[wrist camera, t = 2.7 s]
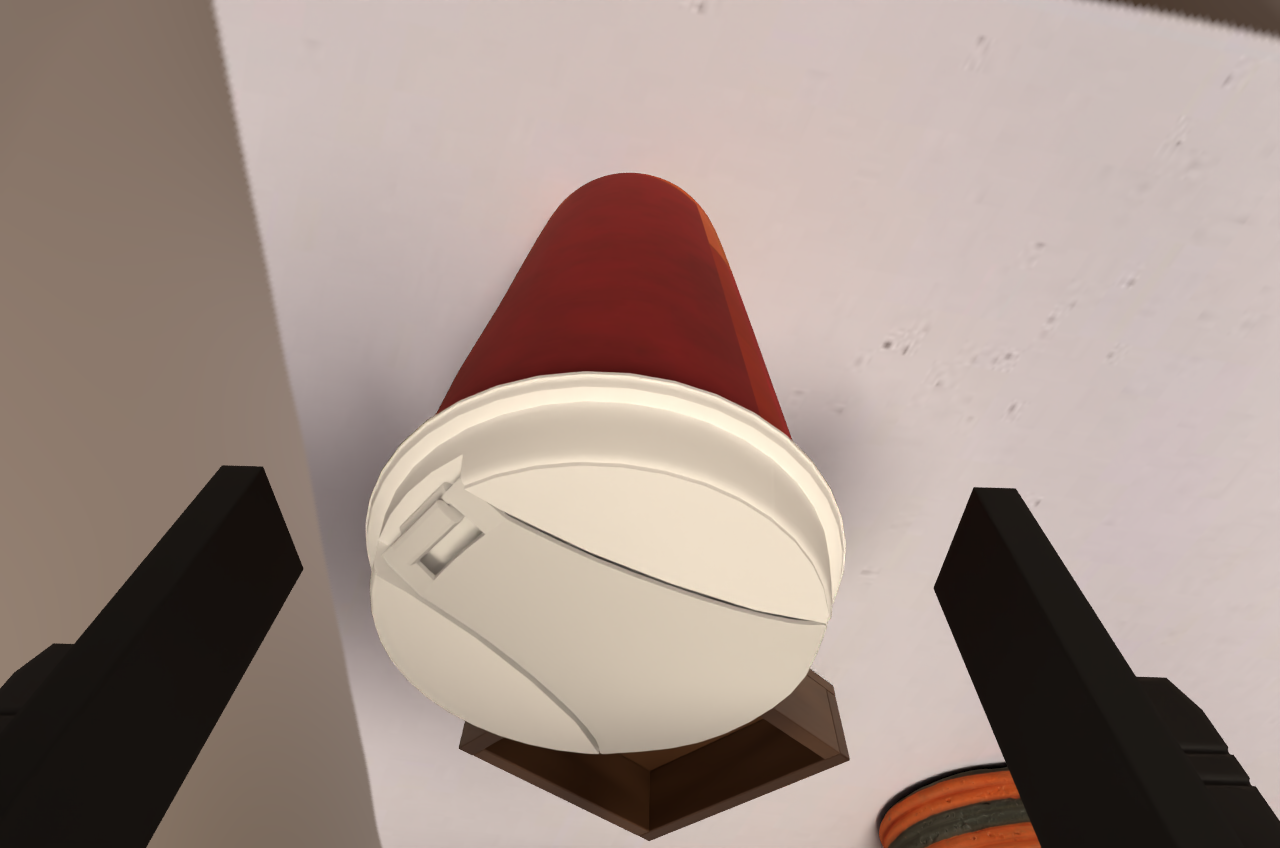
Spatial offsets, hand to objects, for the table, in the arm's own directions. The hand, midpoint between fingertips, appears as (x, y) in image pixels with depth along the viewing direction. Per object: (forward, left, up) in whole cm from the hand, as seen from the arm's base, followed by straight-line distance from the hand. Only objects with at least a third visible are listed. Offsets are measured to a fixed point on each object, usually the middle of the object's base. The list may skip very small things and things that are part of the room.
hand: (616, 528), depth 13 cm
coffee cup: (0, 0, -13) cm, 13 cm away
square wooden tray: (+18, -16, -12) cm, 27 cm away
